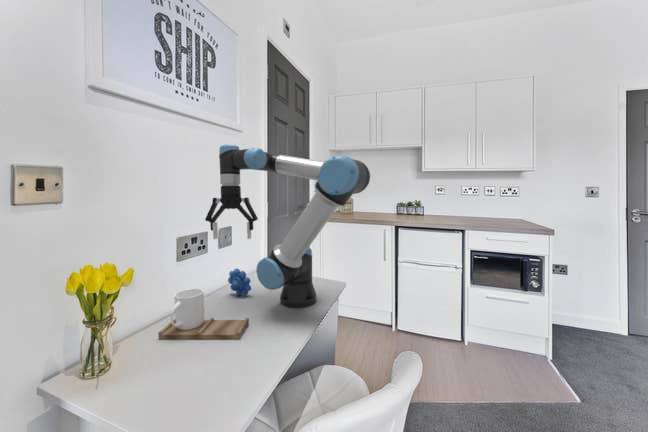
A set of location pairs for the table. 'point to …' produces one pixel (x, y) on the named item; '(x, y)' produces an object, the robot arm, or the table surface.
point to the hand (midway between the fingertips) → (232, 238)
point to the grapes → (239, 282)
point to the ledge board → (207, 330)
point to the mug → (188, 309)
